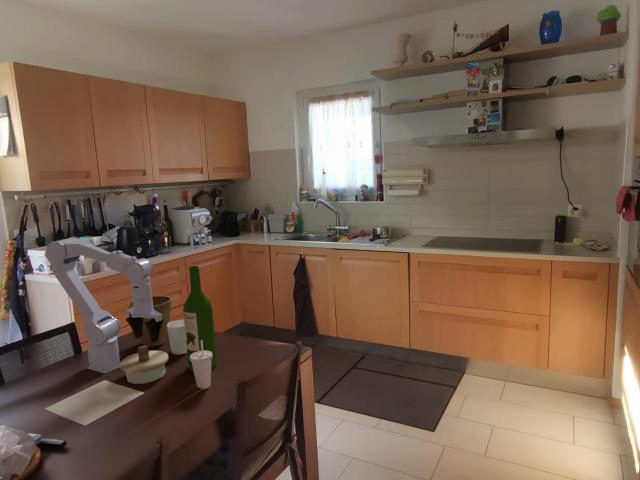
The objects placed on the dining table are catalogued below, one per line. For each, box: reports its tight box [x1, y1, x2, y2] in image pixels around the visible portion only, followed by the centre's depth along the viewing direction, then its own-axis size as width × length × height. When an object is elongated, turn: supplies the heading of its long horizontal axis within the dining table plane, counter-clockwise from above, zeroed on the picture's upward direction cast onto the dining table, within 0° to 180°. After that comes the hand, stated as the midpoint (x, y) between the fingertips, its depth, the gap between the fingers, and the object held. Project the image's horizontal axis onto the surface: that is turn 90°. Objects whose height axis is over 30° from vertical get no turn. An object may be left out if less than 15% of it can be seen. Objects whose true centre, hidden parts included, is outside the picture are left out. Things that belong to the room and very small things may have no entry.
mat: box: [44, 379, 145, 426], centre depth 125 cm, size 18×18×1 cm
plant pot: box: [127, 295, 172, 348], centre depth 165 cm, size 15×15×16 cm
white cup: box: [167, 319, 187, 355], centre depth 158 cm, size 8×8×10 cm
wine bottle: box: [182, 265, 218, 372], centre depth 143 cm, size 9×9×32 cm
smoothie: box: [190, 340, 213, 390], centre depth 131 cm, size 6×6×14 cm
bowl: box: [125, 363, 166, 385], centre depth 139 cm, size 11×11×5 cm
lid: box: [119, 345, 169, 373], centre depth 138 cm, size 14×14×5 cm
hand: (146, 339), depth 143 cm, fingers open, 7 cm apart
